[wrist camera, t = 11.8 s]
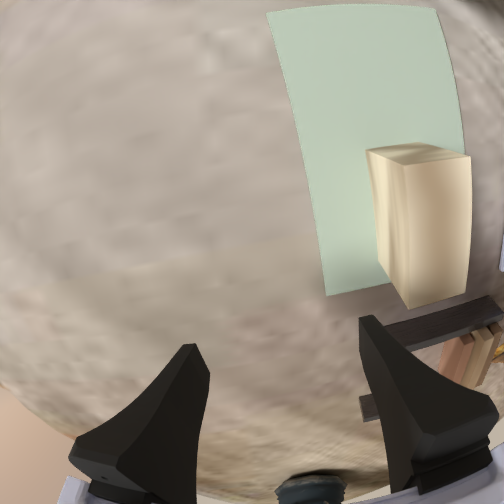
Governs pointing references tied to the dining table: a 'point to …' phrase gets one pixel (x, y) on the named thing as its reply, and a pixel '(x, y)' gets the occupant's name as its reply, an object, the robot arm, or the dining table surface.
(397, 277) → the birch block
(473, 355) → the offcut stack
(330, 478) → the lantern
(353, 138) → the rubber mat
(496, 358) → the shard
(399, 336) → the rack
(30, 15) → the dining table surface
